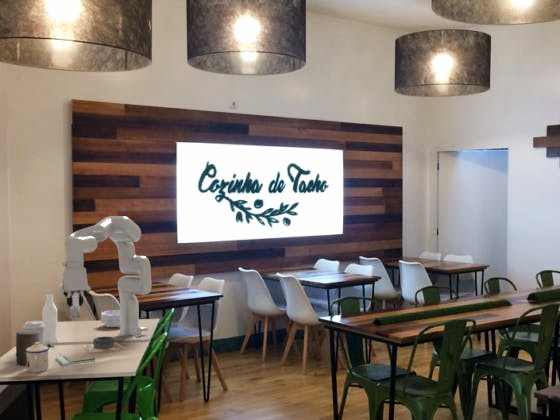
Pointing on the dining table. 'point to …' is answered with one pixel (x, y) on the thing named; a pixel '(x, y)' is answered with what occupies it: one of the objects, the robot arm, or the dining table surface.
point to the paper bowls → (111, 318)
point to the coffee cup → (36, 328)
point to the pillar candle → (25, 344)
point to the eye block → (103, 344)
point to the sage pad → (65, 361)
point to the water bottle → (49, 321)
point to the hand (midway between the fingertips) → (75, 305)
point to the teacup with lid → (37, 358)
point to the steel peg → (75, 304)
